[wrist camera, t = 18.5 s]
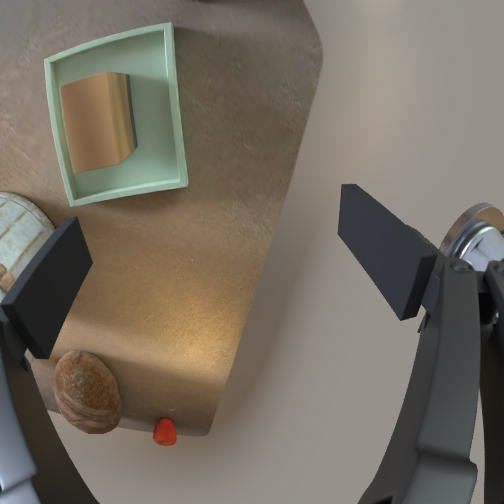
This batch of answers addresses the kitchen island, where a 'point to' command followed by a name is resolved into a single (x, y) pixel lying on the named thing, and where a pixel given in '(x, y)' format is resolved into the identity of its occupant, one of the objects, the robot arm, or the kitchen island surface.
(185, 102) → the kitchen island surface
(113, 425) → the bread
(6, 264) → the white milk churn
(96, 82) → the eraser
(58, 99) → the tray
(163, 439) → the apple
